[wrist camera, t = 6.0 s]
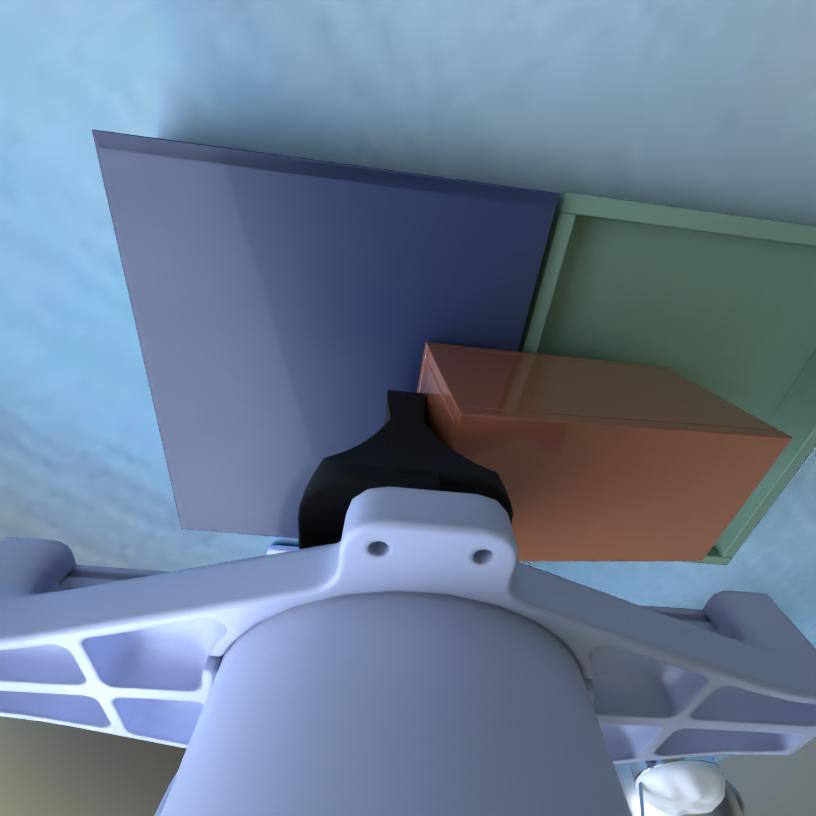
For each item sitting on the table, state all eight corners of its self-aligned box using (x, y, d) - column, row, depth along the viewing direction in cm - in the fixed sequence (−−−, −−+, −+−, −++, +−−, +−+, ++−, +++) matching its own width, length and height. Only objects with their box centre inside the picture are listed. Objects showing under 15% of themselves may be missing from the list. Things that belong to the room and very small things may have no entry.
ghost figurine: (620, 765, 38) (683, 933, 30) (577, 729, 35) (634, 907, 26) (713, 738, 36) (812, 915, 27) (676, 697, 32) (777, 884, 23)
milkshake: (579, 615, 27) (661, 817, 18) (653, 619, 27) (770, 819, 18) (561, 653, 29) (628, 849, 20) (631, 656, 29) (726, 851, 21)
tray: (696, 530, 23) (727, 565, 21) (463, 510, 22) (470, 543, 20) (886, 239, 15) (965, 246, 13) (542, 193, 15) (565, 191, 13)
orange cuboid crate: (404, 459, 16) (424, 562, 12) (425, 341, 14) (460, 414, 9) (615, 469, 18) (702, 561, 13) (666, 366, 16) (794, 437, 11)
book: (457, 508, 22) (464, 552, 19) (210, 486, 22) (181, 529, 19) (531, 194, 15) (560, 192, 12) (155, 143, 14) (91, 129, 11)
